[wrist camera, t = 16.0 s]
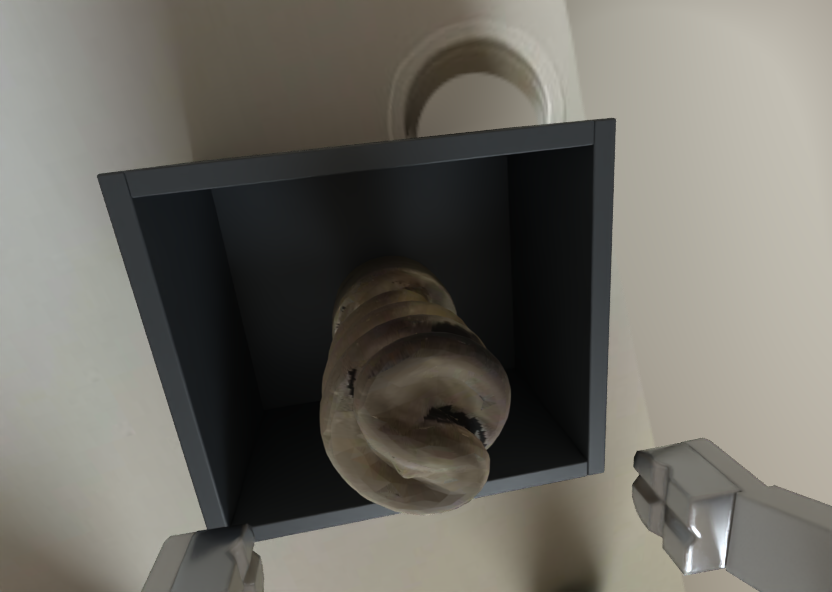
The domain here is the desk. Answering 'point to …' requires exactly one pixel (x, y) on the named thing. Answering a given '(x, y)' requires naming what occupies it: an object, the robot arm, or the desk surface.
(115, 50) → the desk surface
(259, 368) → the bin
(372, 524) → the desk surface
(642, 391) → the desk surface
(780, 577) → the robot arm
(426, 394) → the light bulb
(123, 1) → the desk surface
